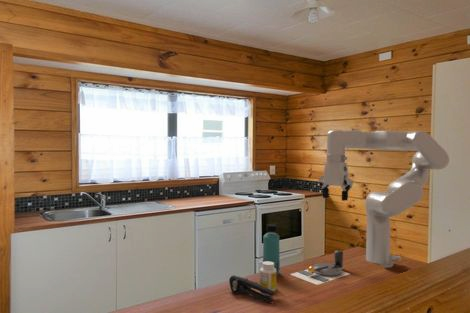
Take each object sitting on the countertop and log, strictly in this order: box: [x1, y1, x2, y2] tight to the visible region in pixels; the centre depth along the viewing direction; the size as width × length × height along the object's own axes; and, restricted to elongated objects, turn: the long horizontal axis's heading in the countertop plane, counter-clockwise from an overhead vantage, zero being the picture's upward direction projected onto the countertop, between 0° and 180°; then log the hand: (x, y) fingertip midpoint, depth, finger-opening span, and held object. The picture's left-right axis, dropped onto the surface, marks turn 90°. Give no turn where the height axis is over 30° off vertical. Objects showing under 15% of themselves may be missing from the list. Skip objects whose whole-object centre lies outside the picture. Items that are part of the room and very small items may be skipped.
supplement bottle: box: [259, 261, 277, 297], centre depth 118 cm, size 6×6×10 cm
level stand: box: [289, 268, 351, 286], centre depth 133 cm, size 20×13×2 cm, turn 127°
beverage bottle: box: [262, 223, 281, 276], centre depth 133 cm, size 6×7×20 cm
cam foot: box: [307, 249, 344, 276], centre depth 135 cm, size 19×11×7 cm, turn 126°
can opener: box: [228, 275, 276, 303], centre depth 115 cm, size 18×7×6 cm, turn 50°
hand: (334, 199), depth 149 cm, fingers open, 9 cm apart
